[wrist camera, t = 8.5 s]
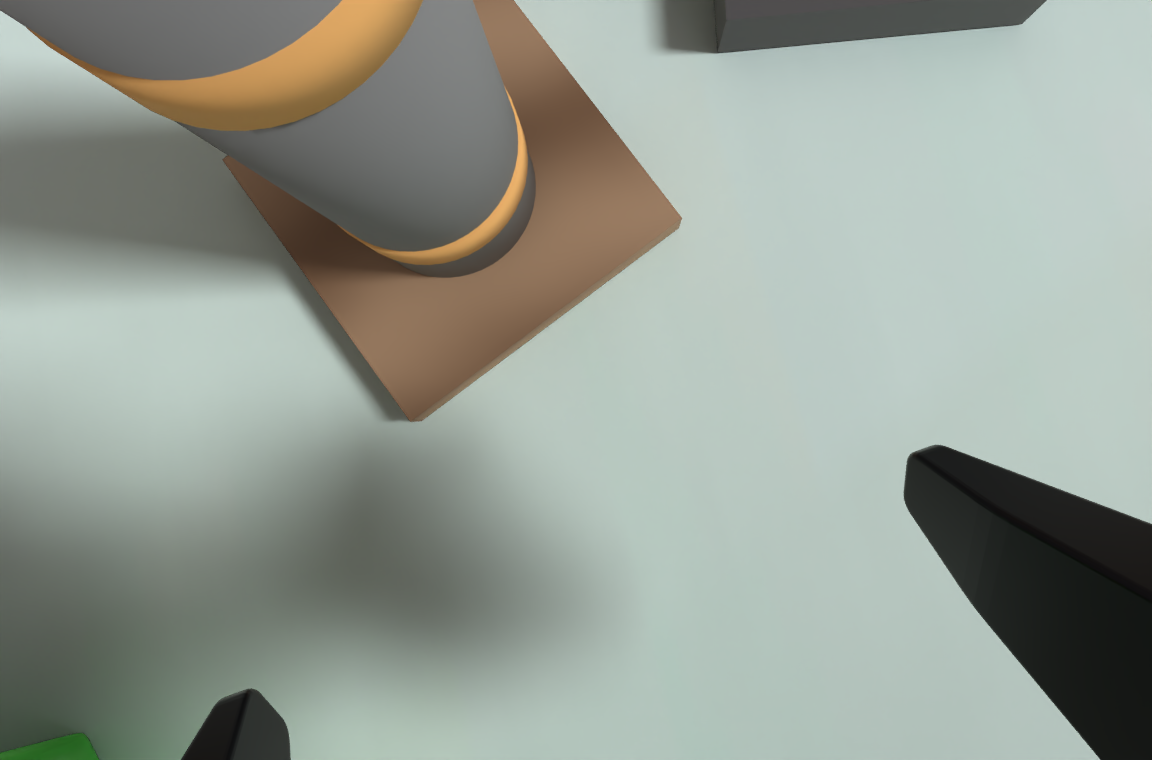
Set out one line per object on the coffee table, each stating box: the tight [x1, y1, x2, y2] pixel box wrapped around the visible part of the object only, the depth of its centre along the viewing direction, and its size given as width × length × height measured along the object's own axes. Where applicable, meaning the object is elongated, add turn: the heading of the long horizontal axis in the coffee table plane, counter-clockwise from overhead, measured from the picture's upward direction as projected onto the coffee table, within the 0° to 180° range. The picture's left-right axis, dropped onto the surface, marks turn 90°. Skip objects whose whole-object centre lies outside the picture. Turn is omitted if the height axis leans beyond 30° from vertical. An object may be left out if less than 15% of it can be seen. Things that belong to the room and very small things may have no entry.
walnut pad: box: [223, 0, 682, 422], centre depth 19 cm, size 9×9×1 cm
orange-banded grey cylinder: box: [0, 0, 536, 278], centre depth 12 cm, size 5×5×13 cm
